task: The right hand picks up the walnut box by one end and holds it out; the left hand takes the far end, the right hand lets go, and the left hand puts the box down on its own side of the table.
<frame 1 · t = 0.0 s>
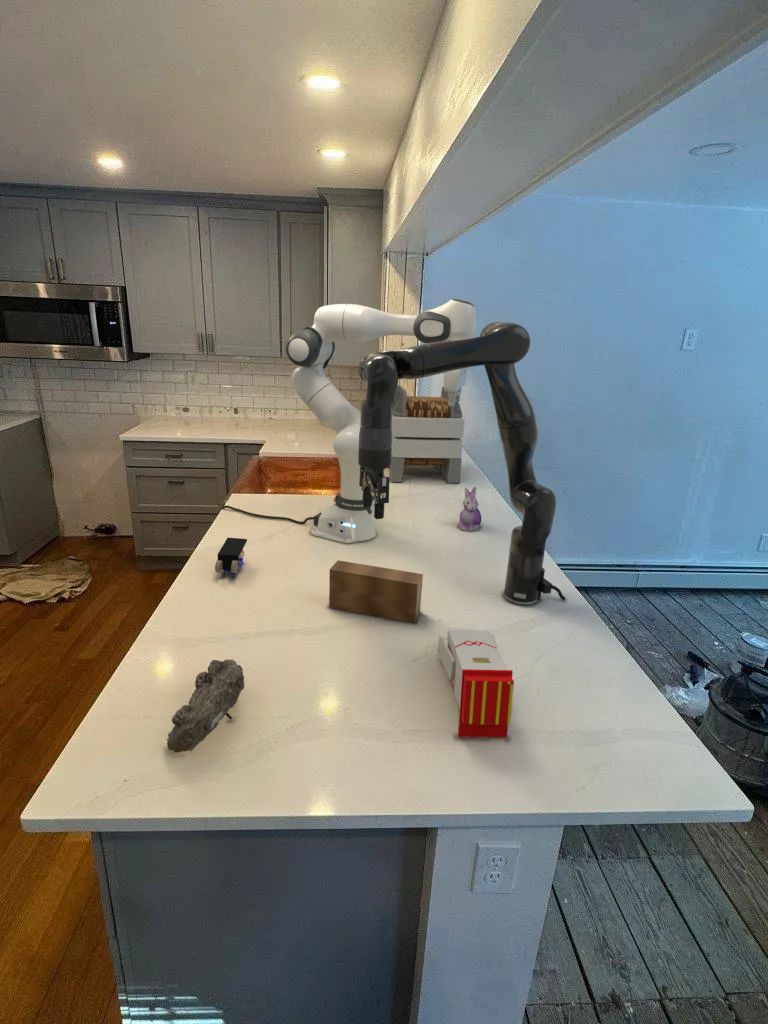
left hand: (454, 403, 174), 48 cm above the counter, tool pointing down, fingers open, 8 cm apart
right hand: (372, 512, 134), 29 cm above the counter, tool pointing down, fingers open, 8 cm apart
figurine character: (232, 569, 168), on the counter
figurine: (469, 527, 209), on the counter
toy: (469, 691, 119), on the counter
box: (374, 609, 149), on the counter
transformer: (419, 473, 275), on the counter
fossil: (212, 717, 108), on the counter
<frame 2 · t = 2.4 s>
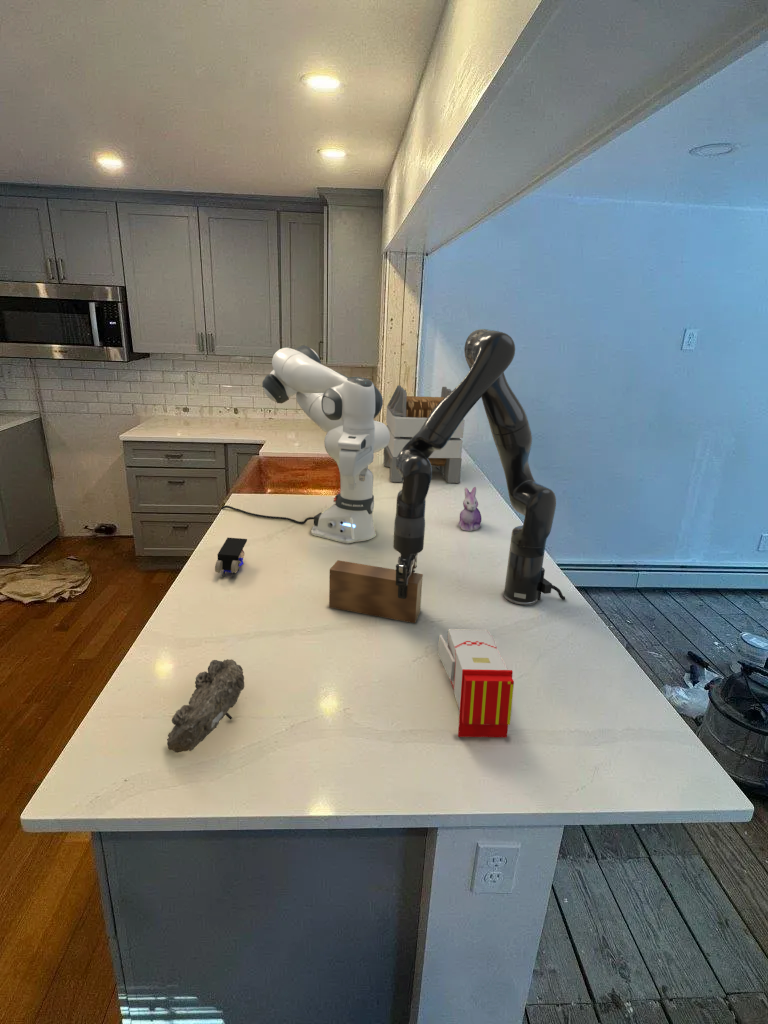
left hand: (357, 484, 163), 27 cm above the counter, tool pointing down, fingers open, 8 cm apart
right hand: (405, 591, 145), 7 cm above the counter, tool pointing down, fingers closed on box, 6 cm apart
box: (374, 609, 149), on the counter, touching right hand
everything else where it was.
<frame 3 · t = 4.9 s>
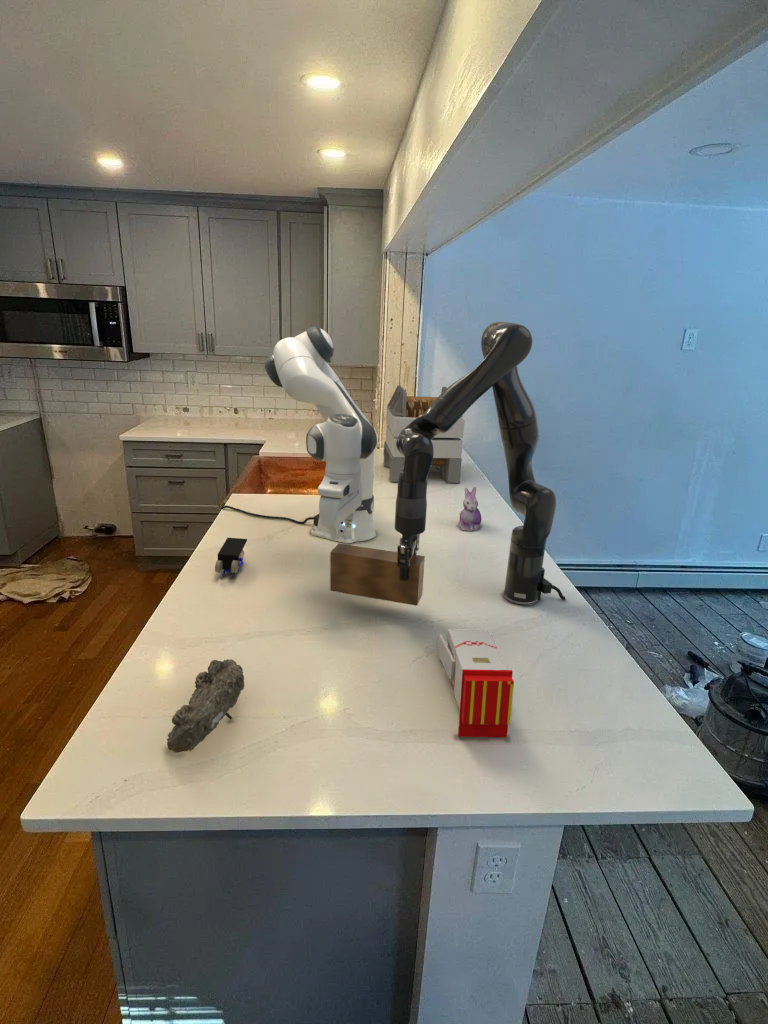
left hand: (342, 532, 146), 20 cm above the counter, tool pointing down, fingers open, 8 cm apart
right hand: (407, 574, 143), 12 cm above the counter, tool pointing down, fingers closed on box, 6 cm apart
box: (376, 592, 147), point 5 cm above the counter, touching right hand
everything else where it was.
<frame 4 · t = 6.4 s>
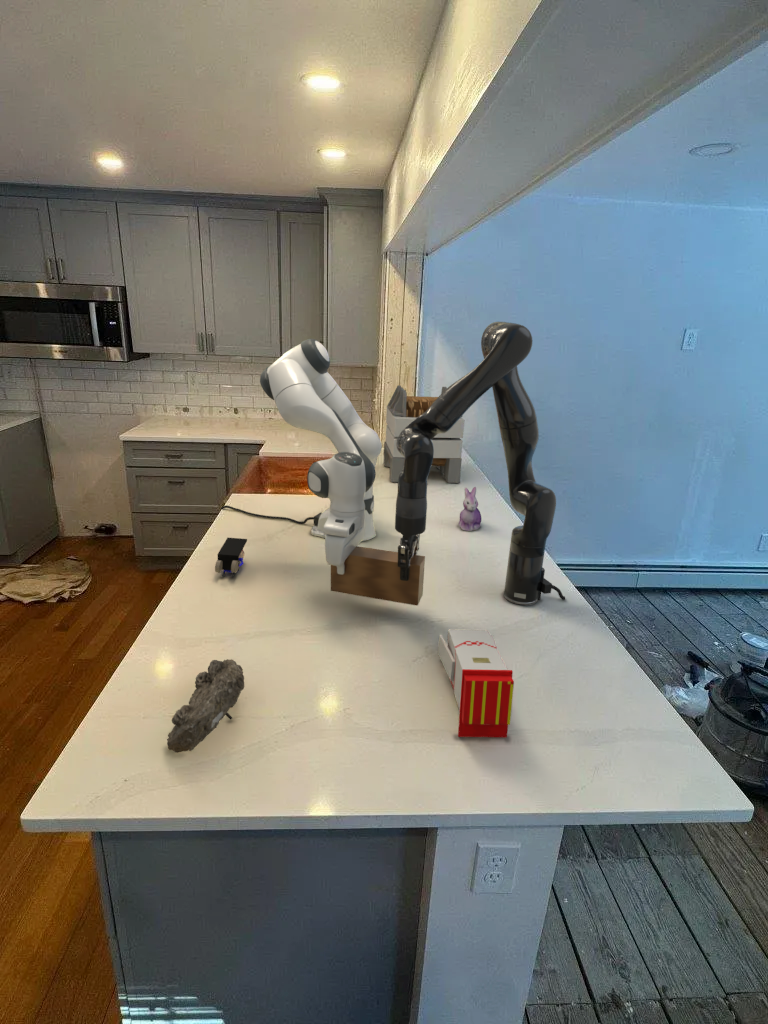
left hand: (346, 567, 147), 11 cm above the counter, tool pointing down, fingers closed on box, 6 cm apart
right hand: (407, 574, 143), 12 cm above the counter, tool pointing down, fingers closed on box, 6 cm apart
box: (376, 593, 147), point 5 cm above the counter, touching left hand, right hand
everything else where it was.
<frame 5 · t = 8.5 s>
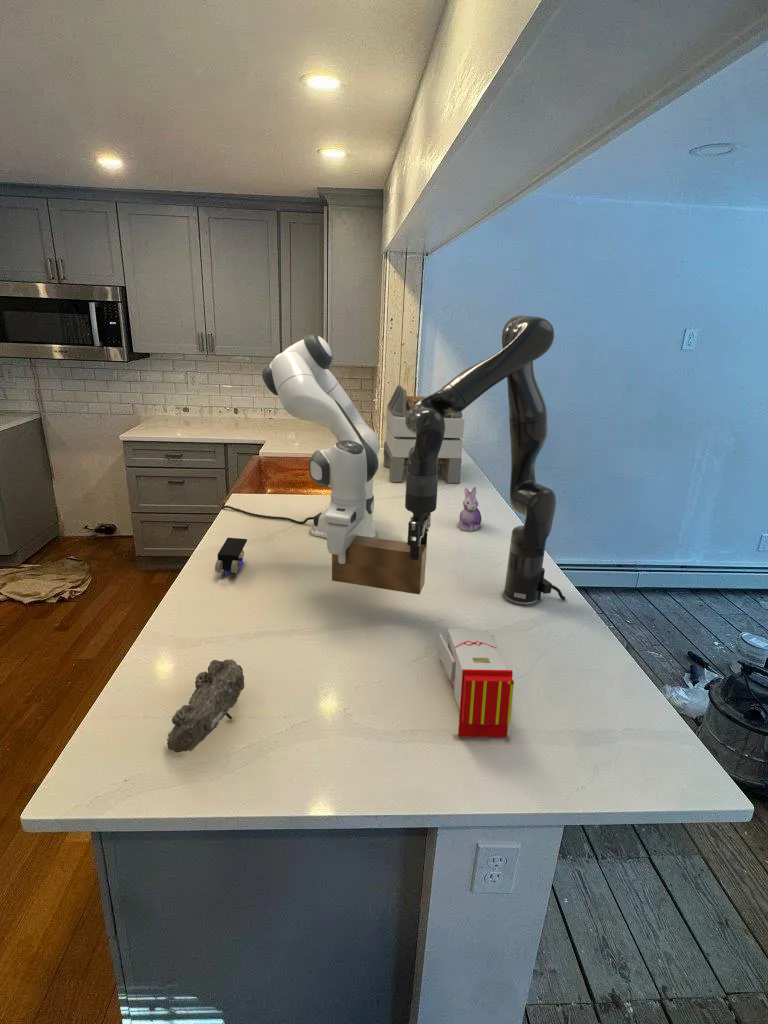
left hand: (347, 557, 147), 14 cm above the counter, tool pointing down, fingers closed on box, 6 cm apart
right hand: (418, 552, 141), 18 cm above the counter, tool pointing down, fingers open, 8 cm apart
box: (378, 582, 147), point 8 cm above the counter, touching left hand
everything else where it was.
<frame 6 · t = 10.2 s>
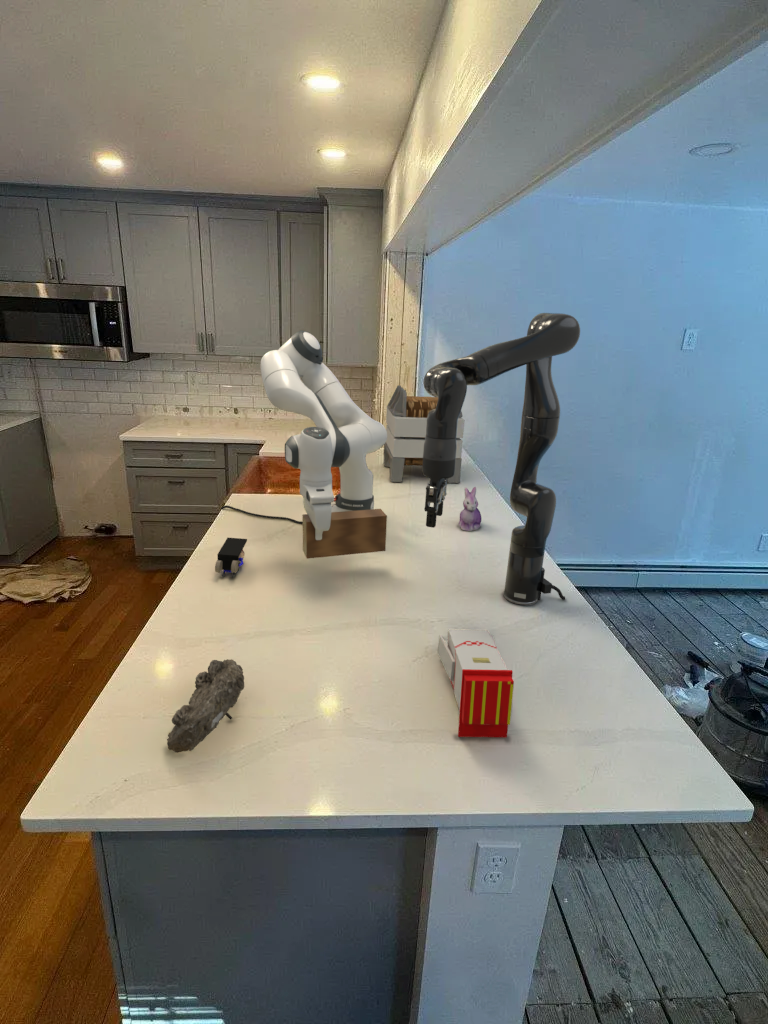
left hand: (315, 534, 160), 14 cm above the counter, tool pointing down, fingers closed on box, 6 cm apart
right hand: (434, 520, 136), 27 cm above the counter, tool pointing down, fingers open, 8 cm apart
box: (344, 550, 165), point 8 cm above the counter, touching left hand
everything else where it was.
when the left hand's fingers open (7 cm above the counter, at t = 11.6 s): box stays where it is, on the counter.
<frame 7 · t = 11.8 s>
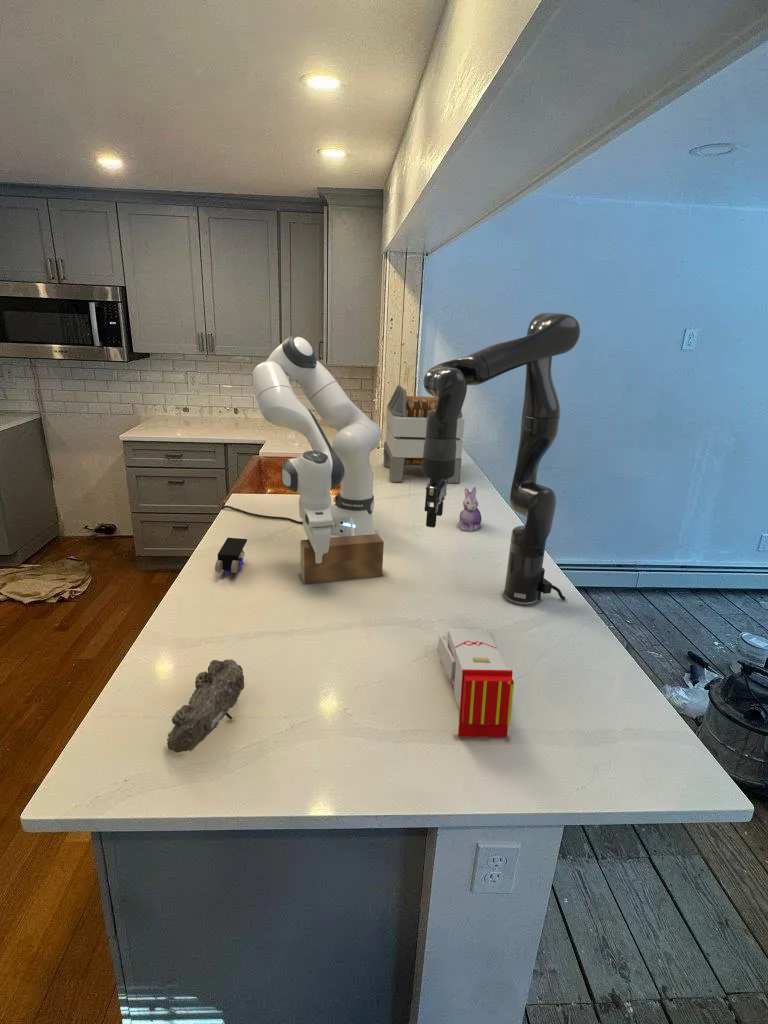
left hand: (314, 555, 162), 7 cm above the counter, tool pointing down, fingers open, 8 cm apart
right hand: (434, 520, 136), 27 cm above the counter, tool pointing down, fingers open, 8 cm apart
box: (341, 575, 167), on the counter
everything else where it was.
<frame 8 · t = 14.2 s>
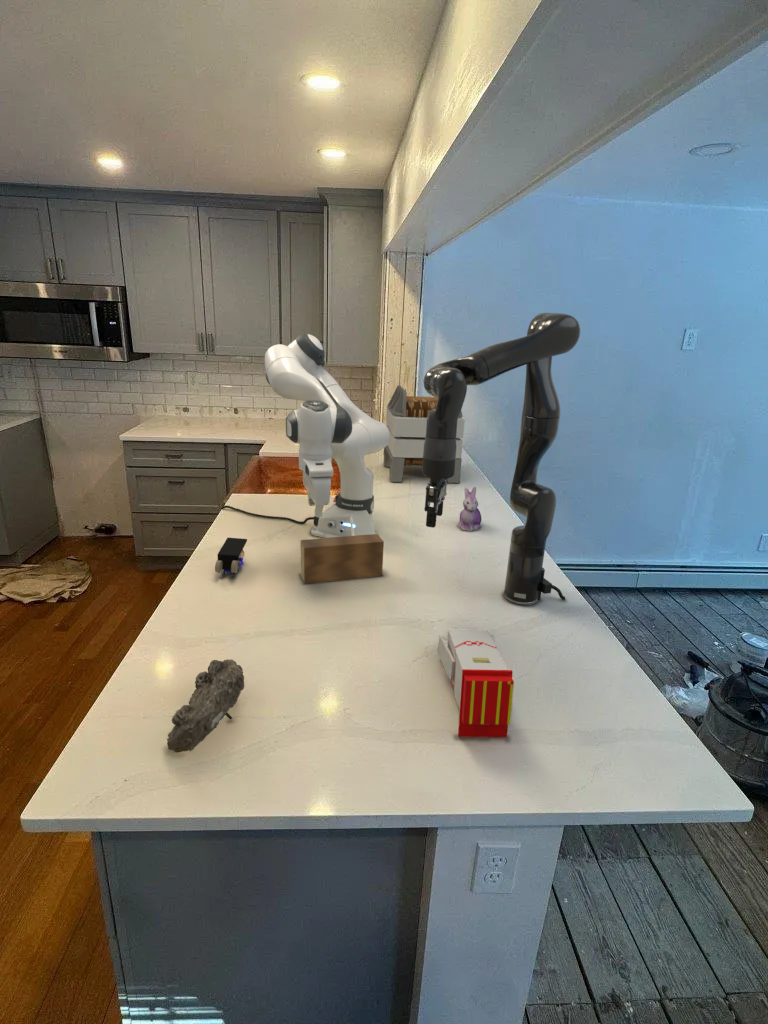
left hand: (315, 510, 158), 21 cm above the counter, tool pointing down, fingers open, 8 cm apart
right hand: (434, 520, 136), 27 cm above the counter, tool pointing down, fingers open, 8 cm apart
nothing on the counter moved.
at the end: box inside the target area (8.0 cm from its centre), on the counter; the left hand is holding nothing; the right hand is holding nothing; box at rest at the end (0.0 cm/s) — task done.
